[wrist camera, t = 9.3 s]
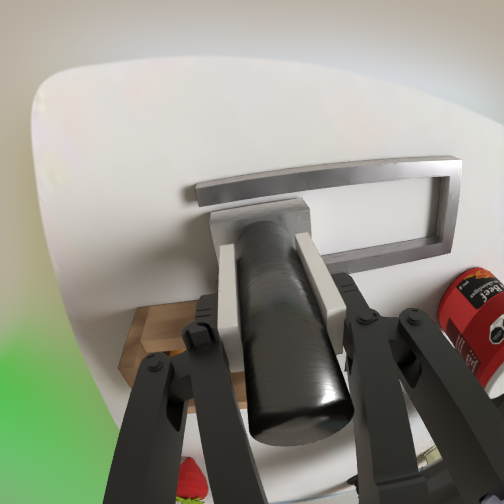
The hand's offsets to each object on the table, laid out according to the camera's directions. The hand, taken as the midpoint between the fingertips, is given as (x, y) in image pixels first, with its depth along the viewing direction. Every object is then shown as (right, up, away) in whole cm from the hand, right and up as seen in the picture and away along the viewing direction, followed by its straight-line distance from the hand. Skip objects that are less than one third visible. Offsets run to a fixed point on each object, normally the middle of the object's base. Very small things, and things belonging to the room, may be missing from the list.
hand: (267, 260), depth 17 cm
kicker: (0, -2, +6) cm, 6 cm away
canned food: (+21, -4, +9) cm, 24 cm away
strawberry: (-11, -31, +21) cm, 40 cm away
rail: (+5, +3, +4) cm, 7 cm away
